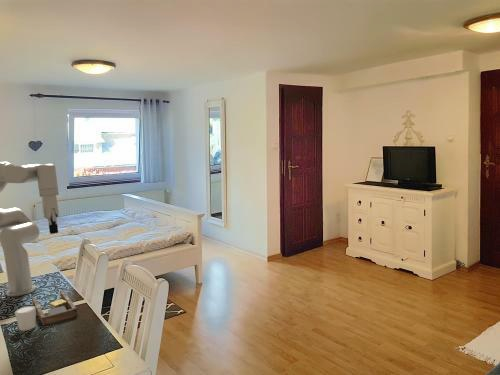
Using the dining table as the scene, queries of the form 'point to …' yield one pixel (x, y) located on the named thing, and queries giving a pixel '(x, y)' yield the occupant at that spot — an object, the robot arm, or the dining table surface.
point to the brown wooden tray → (57, 316)
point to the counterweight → (56, 310)
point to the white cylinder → (26, 318)
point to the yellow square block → (58, 304)
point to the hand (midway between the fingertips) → (54, 233)
